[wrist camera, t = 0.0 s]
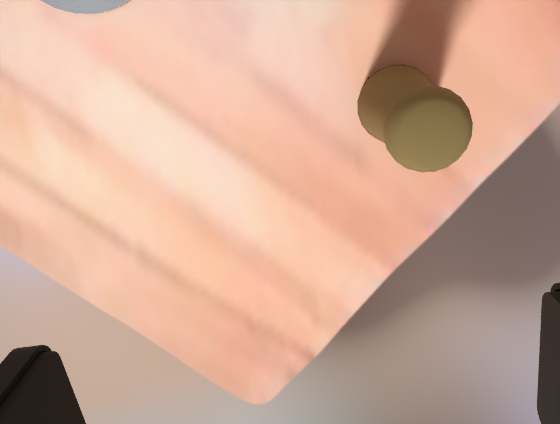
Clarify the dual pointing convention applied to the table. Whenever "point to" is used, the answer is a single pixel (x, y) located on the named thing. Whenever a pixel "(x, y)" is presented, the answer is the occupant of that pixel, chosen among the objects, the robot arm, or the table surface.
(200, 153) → the table surface
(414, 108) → the olive brown waisted cylinder
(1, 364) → the robot arm
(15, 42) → the table surface
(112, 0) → the grey plate
